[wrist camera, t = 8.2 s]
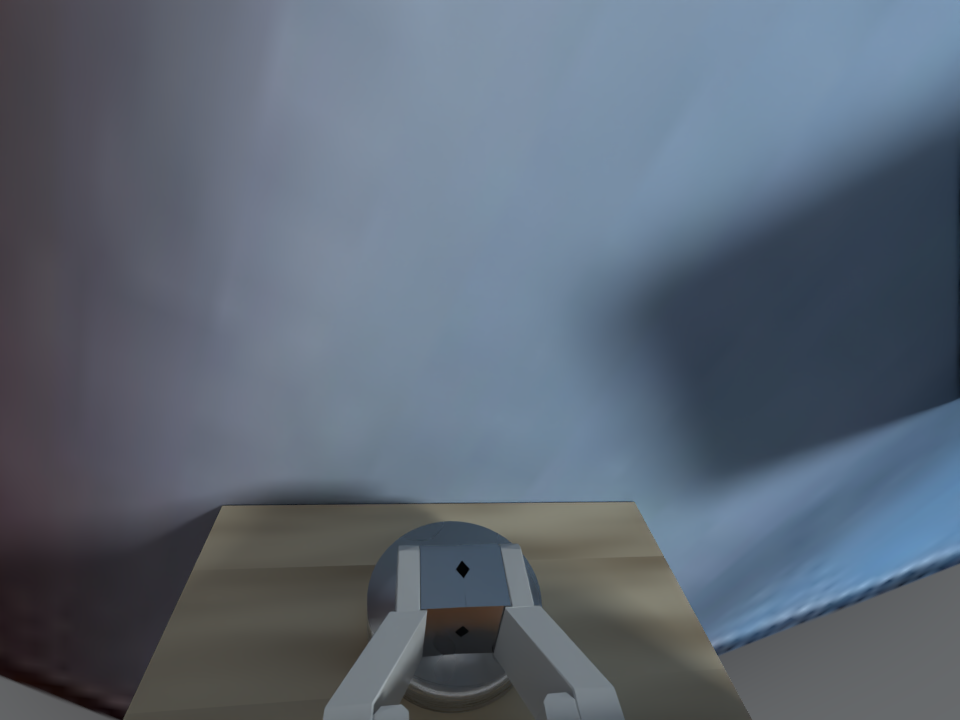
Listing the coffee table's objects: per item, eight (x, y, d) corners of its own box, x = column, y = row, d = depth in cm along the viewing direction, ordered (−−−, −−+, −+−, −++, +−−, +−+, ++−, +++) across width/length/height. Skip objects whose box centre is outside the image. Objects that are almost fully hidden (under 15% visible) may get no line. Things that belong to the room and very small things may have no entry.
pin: (373, 522, 13) (358, 693, 9) (522, 519, 14) (562, 677, 10) (371, 739, 20) (361, 893, 16) (473, 729, 20) (487, 874, 17)
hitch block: (222, 505, 15) (43, 891, 8) (634, 502, 17) (791, 794, 10) (252, 648, 18) (152, 991, 11) (584, 629, 21) (672, 904, 14)
